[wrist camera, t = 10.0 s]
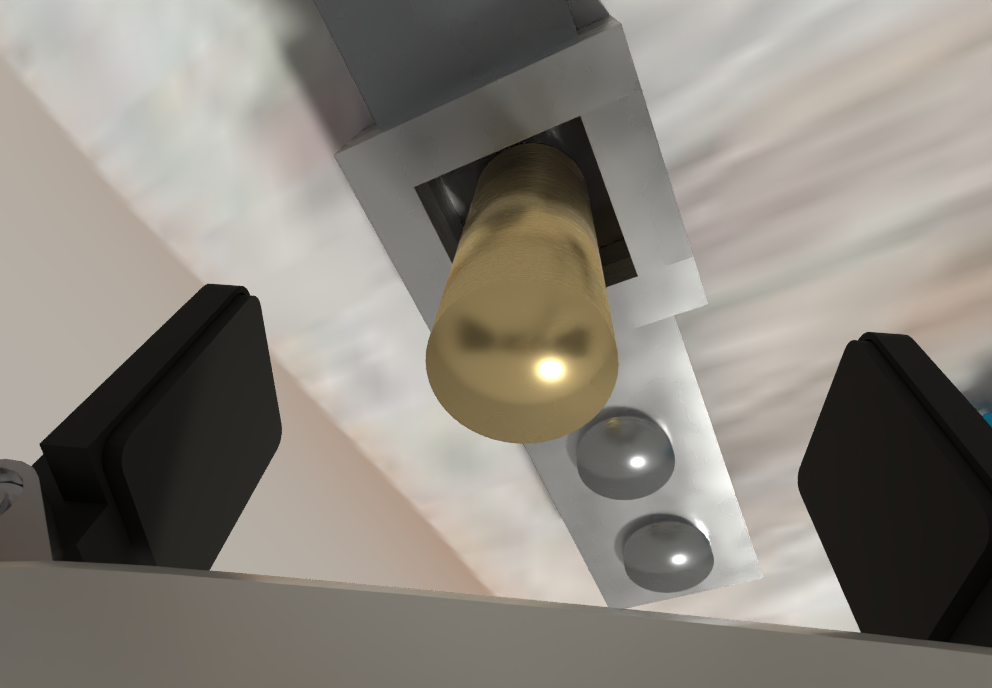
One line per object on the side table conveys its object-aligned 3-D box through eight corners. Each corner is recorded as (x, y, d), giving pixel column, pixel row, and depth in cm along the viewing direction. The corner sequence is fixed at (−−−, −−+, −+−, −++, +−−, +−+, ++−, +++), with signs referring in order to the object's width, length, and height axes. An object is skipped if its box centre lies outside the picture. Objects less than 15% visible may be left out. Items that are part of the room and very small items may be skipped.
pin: (476, 140, 20) (424, 273, 11) (594, 146, 20) (632, 286, 11) (473, 249, 22) (427, 436, 13) (581, 256, 22) (605, 449, 13)
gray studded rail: (100, -371, 15) (-14, -458, 12) (410, -617, 13) (368, -798, 10) (583, 558, 29) (587, 627, 26) (767, 513, 27) (795, 583, 24)
